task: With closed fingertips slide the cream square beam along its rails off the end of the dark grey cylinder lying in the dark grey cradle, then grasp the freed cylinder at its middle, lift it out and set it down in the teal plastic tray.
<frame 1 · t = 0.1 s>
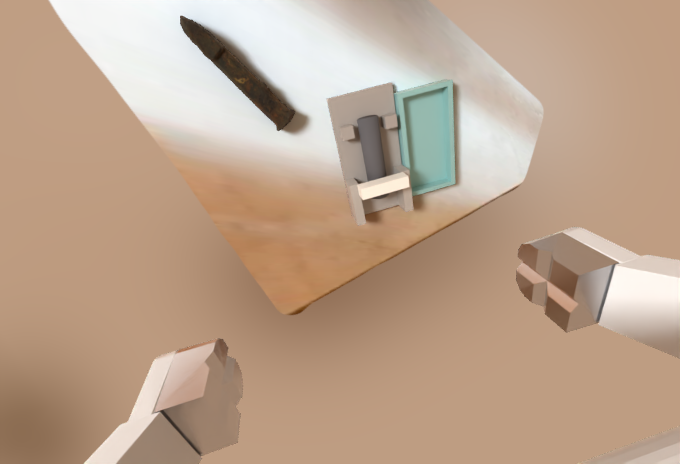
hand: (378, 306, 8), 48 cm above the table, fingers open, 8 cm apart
tray: (422, 140, 56), on the table
cradle: (369, 155, 56), on the table
dark grey cylinder: (371, 156, 55), point 1 cm above the table, touching cradle
hand tool: (238, 77, 47), on the table
cream square beam: (383, 185, 52), point 6 cm above the table, slide at 0.0 cm
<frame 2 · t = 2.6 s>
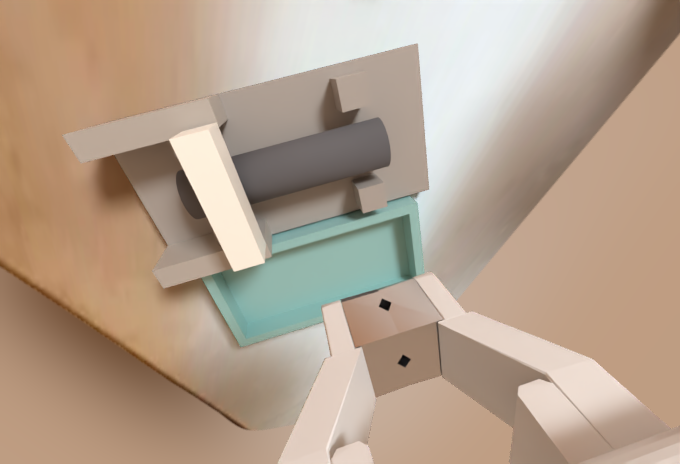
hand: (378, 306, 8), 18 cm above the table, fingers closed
tray: (319, 263, 29), on the table
cradle: (286, 158, 24), on the table
dark grey cylinder: (287, 162, 23), point 1 cm above the table, touching cradle
cream square beam: (225, 200, 18), point 6 cm above the table, slide at 0.0 cm
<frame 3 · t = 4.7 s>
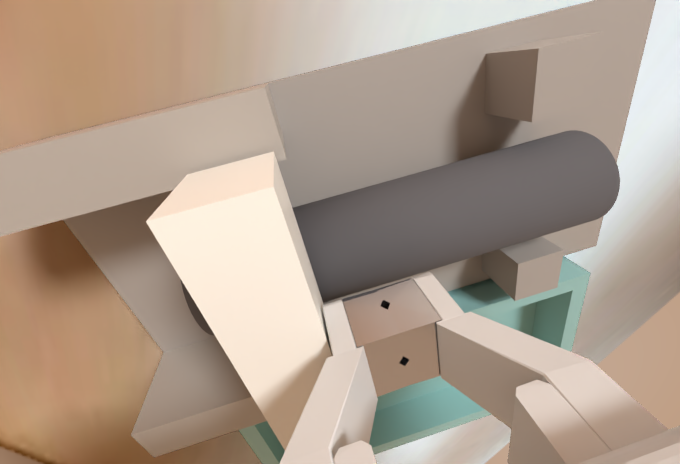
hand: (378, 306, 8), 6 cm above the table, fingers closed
tray: (400, 352, 19), on the table
cradle: (373, 199, 14), on the table
dark grey cylinder: (382, 210, 12), point 1 cm above the table, touching cradle
cream square beam: (287, 331, 8), point 6 cm above the table, slide at 0.2 cm, touching gripper
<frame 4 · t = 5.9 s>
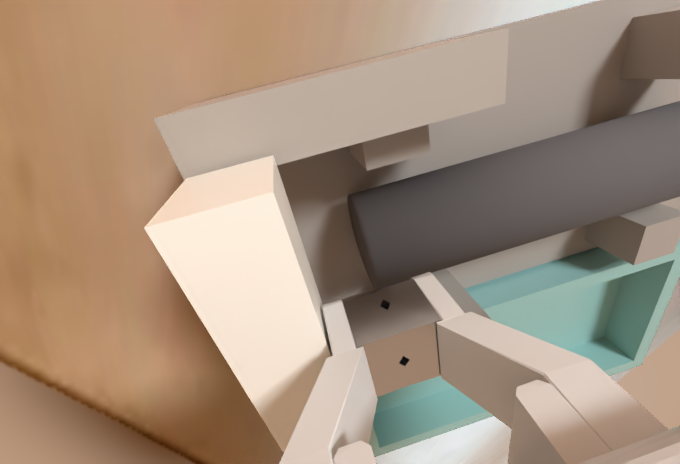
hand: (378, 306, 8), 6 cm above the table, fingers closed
tray: (486, 327, 19), on the table
cradle: (491, 168, 14), on the table
dark grey cylinder: (508, 175, 13), point 1 cm above the table, touching cradle
cream square beam: (287, 335, 8), point 6 cm above the table, slide at 5.9 cm, touching gripper
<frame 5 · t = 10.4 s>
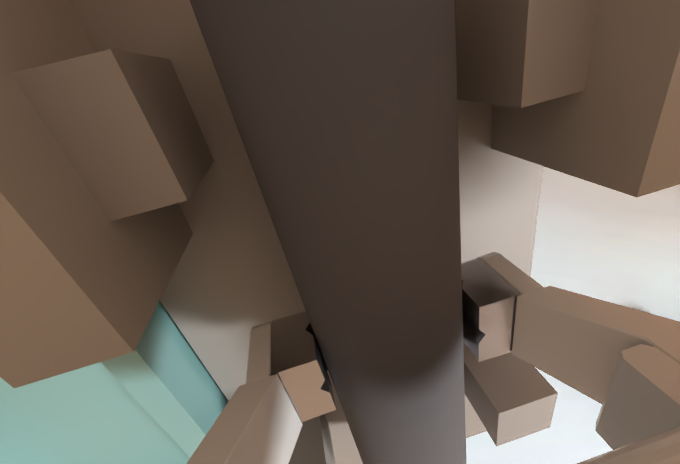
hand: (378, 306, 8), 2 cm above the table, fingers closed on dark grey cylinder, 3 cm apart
tray: (35, 357, 9), on the table
cradle: (357, 260, 10), on the table
dark grey cylinder: (367, 280, 9), point 1 cm above the table, touching cradle, gripper
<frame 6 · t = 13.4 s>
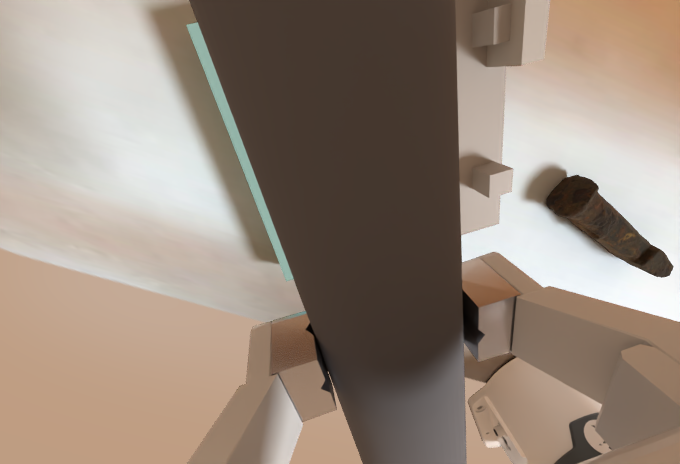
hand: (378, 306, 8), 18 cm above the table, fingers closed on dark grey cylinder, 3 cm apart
tray: (308, 154, 24), on the table
cradle: (432, 120, 25), on the table
dark grey cylinder: (367, 279, 9), point 17 cm above the table, touching gripper
hand tool: (598, 221, 34), on the table
when the fingers open (3 cm above the table, at t = 16.3 s): dark grey cylinder drops 2 cm, resting on tray.
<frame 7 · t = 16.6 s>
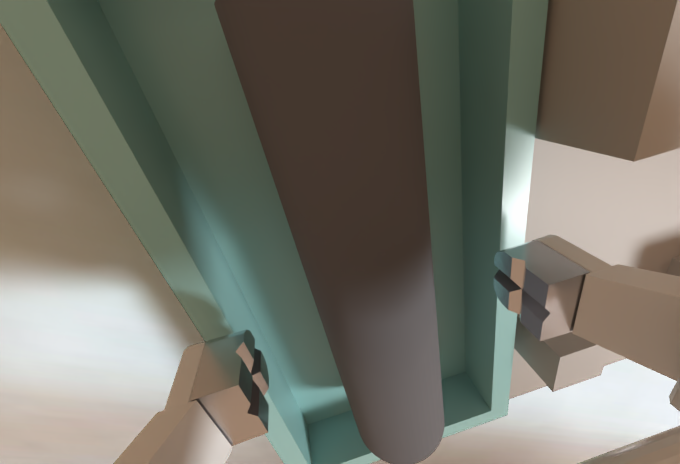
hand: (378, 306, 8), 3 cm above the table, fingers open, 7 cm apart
tray: (350, 245, 11), on the table
cradle: (610, 167, 12), on the table
dark grey cylinder: (355, 253, 10), point 1 cm above the table, touching tray
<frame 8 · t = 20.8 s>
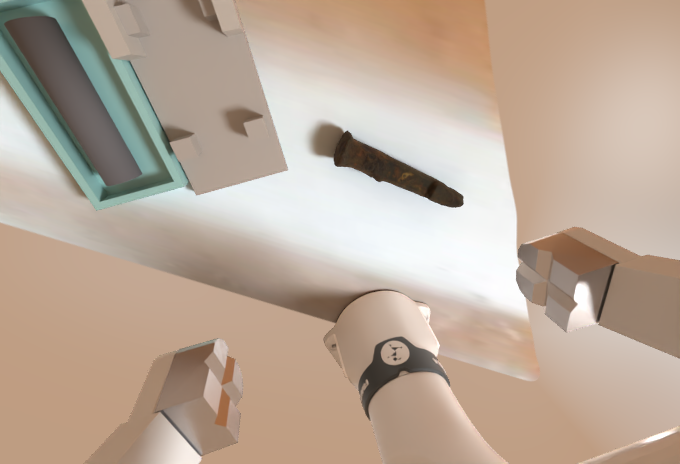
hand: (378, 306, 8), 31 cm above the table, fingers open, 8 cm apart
tray: (101, 106, 31), on the table
cradle: (204, 80, 31), on the table
dark grey cylinder: (98, 106, 30), point 1 cm above the table, tilted 19°, touching tray
hand tool: (399, 167, 40), on the table
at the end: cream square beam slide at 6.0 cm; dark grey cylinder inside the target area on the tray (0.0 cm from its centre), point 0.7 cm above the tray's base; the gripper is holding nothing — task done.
